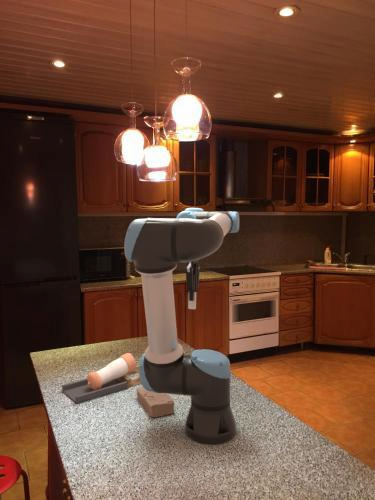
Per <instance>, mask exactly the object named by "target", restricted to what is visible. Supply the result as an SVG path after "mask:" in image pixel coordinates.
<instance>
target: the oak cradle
mask: <svg viewBox="0 0 375 500" xmlns="http://www.w3.org/2000/svg"><path fill="white" fill-rule="evenodd" d="M139 370H140V367H139V365H137V368H136V370H134V371H132V372H131V373H129V374H125V375H123V376H122V377H120V378H117V379H116V380H118V381H119V382H121V383H122V382H128V388H131V387H134V386H138V385H142V384H141V381H140V376H135V377H133V378H130V377H129V376H132V375H134V374H137V373H138V374H139Z"/></svg>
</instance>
